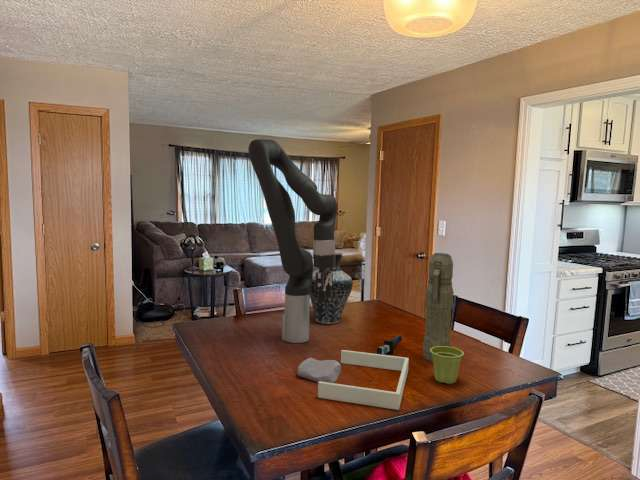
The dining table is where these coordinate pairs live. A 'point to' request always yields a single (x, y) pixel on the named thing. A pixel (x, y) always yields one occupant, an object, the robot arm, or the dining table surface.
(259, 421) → the dining table surface
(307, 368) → the stone block
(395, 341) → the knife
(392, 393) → the cream u-shaped barrier
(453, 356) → the plant pot
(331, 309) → the jug
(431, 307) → the stone statue
